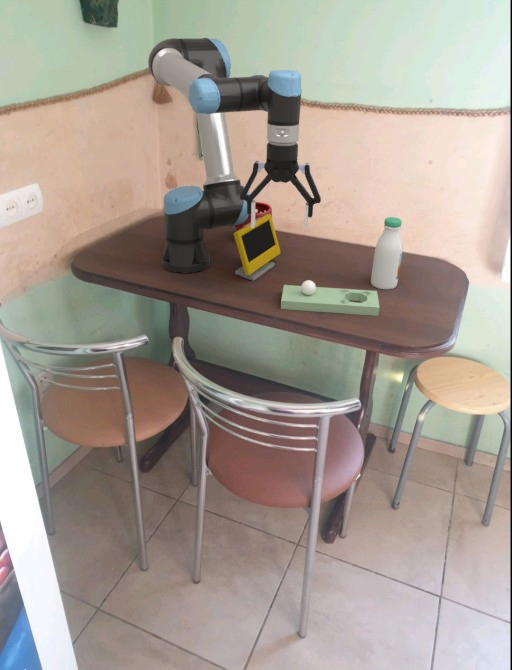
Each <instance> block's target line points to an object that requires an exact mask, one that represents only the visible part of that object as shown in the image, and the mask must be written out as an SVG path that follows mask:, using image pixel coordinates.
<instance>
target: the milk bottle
mask: <svg viewBox="0 0 512 670" xmlns="http://www.w3.org/2000/svg"><path fill="white" fill-rule="evenodd" d="M402 223H403V222H402V219H401V218H398V217H395V216H392V217H386V218H385V219H384V225H383V227H384V229H383V231H382V234H381V235H380V237H379V238H378V240H377V241H376V242H377V243H376V245H375V249H374V255H373V262H372V270H371V276H370V283H371V286H373V287H374V288H376V289H379V290H386V291H388V290H393V289H395V288H396V287H397V285H398V282H399V276H400V275H399V274H400V271H401V270H400V269H401V263H402V257H403V249H404V248H403V240H402V238H401V233H400V230H401V226H402Z"/></svg>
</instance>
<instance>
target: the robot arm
mask: <svg viewBox="0 0 512 670" xmlns="http://www.w3.org/2000/svg"><path fill="white" fill-rule="evenodd" d="M147 62H148V63H147V64H148V70H149V72H150V75H151V76H152V77H153V79H154V80H155V81H157V82H158V83H159V84H161V85H163V86H165V87H172V88H174V89H175V90H177V91H179V92H180V93H181V94H183V95H184V96H186V97H188V98H189V104H190V106H191V108H192V110H193V112H194V113H195V114H196V121H197V125H198V127H197V128H198V133H199V138H200V140H199V141H200V143H201V151H202V158H203V163H204V170H205V177H206V179H205V181H204V182H203V185H202V188H201V187H200V186H197V185H184V186H183V185H182V186H179V187H175V188H173V189H170V190H168V191H167V193H165V194H164V196H163V211H162V212H163V213H164V214H163V217H164V227H165V229H164V230H165V245H164V248H163V251H162V256H161V265H163V266H162V267H163V268H164V269H165V270H166V269H168V270H167V271H169V270H170V271H169V272H172V271H175V272H174V273H176V272H182V273H181V274H191V273H190V272H193V273H197V271H198V272H201V271H205V270H206V269H207V268H209V267H210V265H211V255H210V252H209V250H208V247H207V245H206V242H205V234H204V233H205V231H207V230H213V229H218V228H219V229H221V228H225V227H235V225H238V224H242V223H244V222H245V221H246V219H247V218H248V215H249V214H250V215H251V228H254V227H255V212H256V209H255V202H256V200H255V198H256V197H257V196H258V195H259V194H260V193H261V191H262V190H263V189H264V188H265V187H266V186H267V185H268V184H269V183H270V182H271V181H273V182H274V183H285V184H286V183H288V182H291V183H292V185H293V186H294V188H295V189H296V190H297V191H298V193H299V194H300V195H301V196H302V198H303V199H304V200H305V201H306V202H305V208H304V209H305V210H304V222H303V223H304V225H303V231H304V232H307V231H308V219H309V218H312V217H313V213H314V205H315V204H320V203H321V202H322V201H321V199H322V198H321V195H320V192H319V190H318V188H317V186H316V182H315V181H314V179H313V176H312V174H311V165H310V163H309V162H306V163H305V164H299V163H298V157H299V156H298V153H299V144H298V143H297V142H299V138H300V137H299V136H300V119H301V118H300V117H301V116H300V115H301V102H302V101H301V100H302V92H303V91H302V89H303V88H302V75H301V73H300V72H299V71H297V70H289V69H273V70H271V71H270V72H269V73H268V76H265V75H263V74H253V75H249V76H241V77H234V76H233V77H230V76H231V68H232V67H231V66H232V65H231V58H230V55H229V52H228V50H227V47H226V46H225V44H224V43H223V42H222V41H221V40H220V39H217V38H208V37H201V38H175V37H174V38H173V37H172V38H168V39H164V40H161V41H160V42H158V43H157V44H156V45H155V46H154V47H153V48H152V49H151V51H150V53H149V57H148V60H147ZM254 111H255V112H256V111H263V112H267V122H266V123H267V124H266V126H267V127H266V131H267V134H266V140H267V141H268V143H267V144H266V161H265V163H264V162H259V161H258V160H255V161H254V163H253V165H252V171H251V174H250V176H249V178H248V179H247V181H246V184H245V186H244V185H242V184H241V179H240V178H239V177H238V176H236V175H235V170H234V165H233V158H232V151H231V145H230V137H229V133H228V132H229V131H228V125H227V124H228V123H227V119H226V118H227V117H226V113H237V112H240V113H241V112H254ZM263 169H264V170H265V173H267V174H266V175H265V176H264V178H263V180H261V182H259V184H258V185H257V186H256V187H255V188H254V189H253V190H252V192H251V193H250V192H249V191H250V189H251V186H252V185H253V183H254V181H255V179H256V178H257V174H258V173H260V172H262V170H263ZM299 171H300V172H301V173H302V174H303V175H304V177H305V179H306V181H307V185H308V186H309V188H310V191H311V193H312V195H313V197H312V196H311V195H310V193H309V192H308V190H307V189H306V188H305V187H304V185H303V183H302V182H301V181H300V180H299V178H298V176H297V173H298V172H299ZM188 272H189V273H188Z"/></svg>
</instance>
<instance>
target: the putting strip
mask: <svg viewBox="0 0 512 670" xmlns="http://www.w3.org/2000/svg"><path fill="white" fill-rule="evenodd" d="M301 286H302V285H290V284H283V289H282V294H281V300H280V309H281V310H290V311H291V310H292V311H306V312H319V313H334V314H345V315H347V314H348V315H362V316H363V315H364V316H374V317H375V316H376V317H378V316H379V314H380V308H381V307H380V300H379V295H378V291H377V290H368V289H353V288H337V287H336V288H335V287H325V286H324V287H322V286H316V290H315V292H314V293H313V294H311V295H306V294H304V293H303V292H302V290H301ZM354 301H355V302H354ZM356 301H357V302H356Z"/></svg>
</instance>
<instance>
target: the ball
mask: <svg viewBox="0 0 512 670" xmlns="http://www.w3.org/2000/svg"><path fill="white" fill-rule="evenodd" d="M300 286H301V290H302V292H303V293H304V294H306V295H311V294H313V293H314V292H315V290H316V287H317V286H316V283H315V282H314V281H312V280H310V279H308V280H305V281H303V282H302V284H301V285H300Z"/></svg>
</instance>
